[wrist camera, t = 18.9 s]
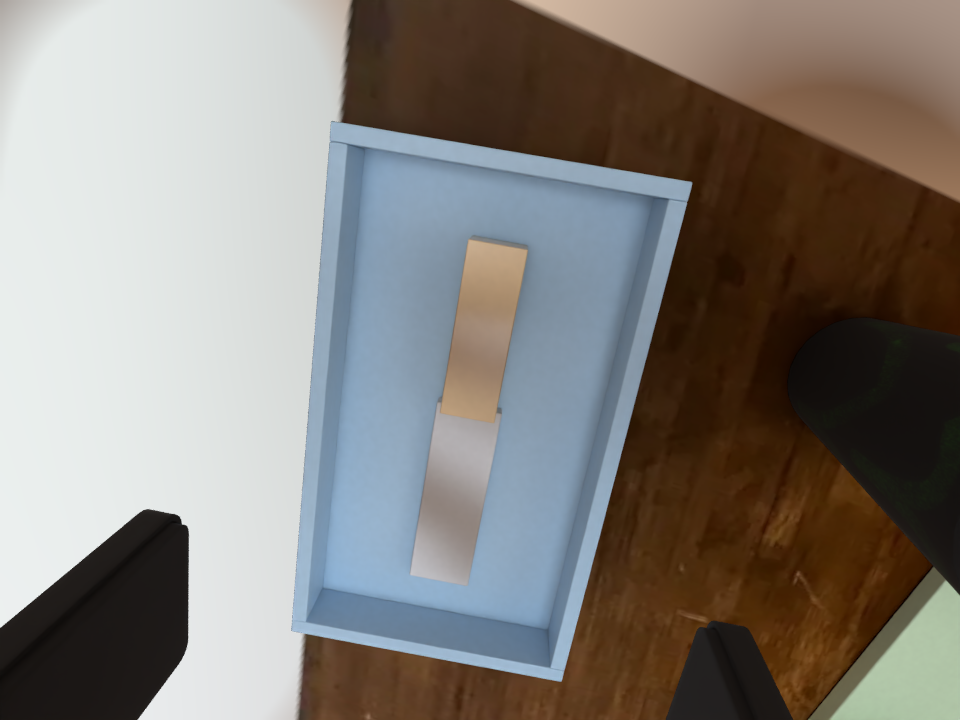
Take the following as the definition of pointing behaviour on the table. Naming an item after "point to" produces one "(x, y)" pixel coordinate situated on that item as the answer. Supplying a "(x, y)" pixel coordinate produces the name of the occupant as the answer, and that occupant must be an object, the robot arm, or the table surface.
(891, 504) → the cup
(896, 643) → the rack
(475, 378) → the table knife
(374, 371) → the tray
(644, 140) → the table surface
